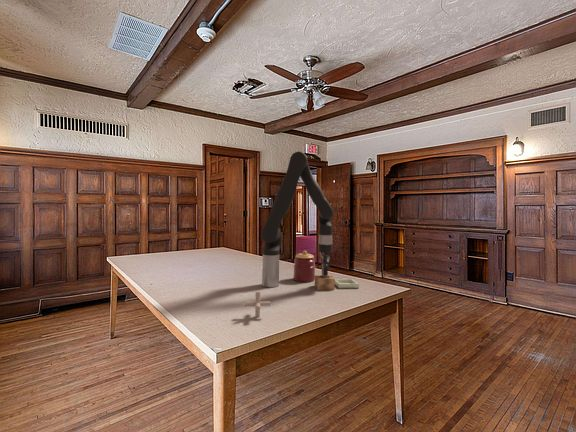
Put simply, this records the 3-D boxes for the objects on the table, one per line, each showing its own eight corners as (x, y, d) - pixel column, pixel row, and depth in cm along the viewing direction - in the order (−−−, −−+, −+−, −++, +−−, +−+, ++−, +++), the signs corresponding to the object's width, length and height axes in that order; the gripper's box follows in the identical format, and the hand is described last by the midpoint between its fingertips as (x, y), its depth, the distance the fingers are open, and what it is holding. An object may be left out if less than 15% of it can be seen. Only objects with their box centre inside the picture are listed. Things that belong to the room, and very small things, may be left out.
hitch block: (318, 290, 160) (318, 278, 160) (314, 285, 169) (314, 274, 169) (334, 289, 162) (334, 278, 161) (330, 285, 171) (330, 274, 170)
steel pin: (322, 288, 164) (322, 260, 163) (320, 286, 167) (321, 259, 166) (327, 288, 164) (328, 260, 164) (326, 286, 167) (327, 259, 167)
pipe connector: (245, 312, 125) (246, 288, 125) (269, 312, 126) (270, 288, 125) (244, 321, 115) (244, 295, 115) (270, 321, 116) (271, 295, 116)
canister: (308, 283, 173) (309, 252, 173) (289, 280, 180) (289, 250, 180) (318, 279, 184) (319, 250, 184) (300, 276, 191) (301, 248, 191)
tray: (339, 288, 164) (339, 284, 164) (333, 283, 175) (333, 279, 175) (358, 288, 165) (358, 283, 165) (352, 283, 176) (352, 278, 176)
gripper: (315, 241, 171) (315, 272, 172) (321, 244, 157) (320, 277, 158) (328, 241, 172) (328, 271, 173) (335, 244, 158) (334, 277, 159)
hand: (324, 274), depth 165 cm, fingers closed on steel pin, 3 cm apart
